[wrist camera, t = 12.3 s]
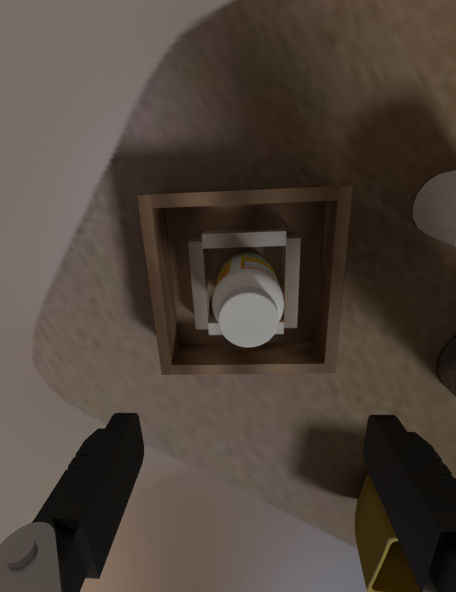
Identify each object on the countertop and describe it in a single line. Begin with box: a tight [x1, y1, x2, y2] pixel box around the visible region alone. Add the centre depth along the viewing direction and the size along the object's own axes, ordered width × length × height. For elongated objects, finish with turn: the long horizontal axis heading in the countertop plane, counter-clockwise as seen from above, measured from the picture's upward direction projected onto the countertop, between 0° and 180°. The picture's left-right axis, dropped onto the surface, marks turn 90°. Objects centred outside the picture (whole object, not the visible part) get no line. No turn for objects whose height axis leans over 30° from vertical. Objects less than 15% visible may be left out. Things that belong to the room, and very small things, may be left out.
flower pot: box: [355, 474, 421, 592], centre depth 34 cm, size 9×9×9 cm
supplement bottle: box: [212, 252, 284, 347], centre depth 23 cm, size 5×5×10 cm
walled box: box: [137, 185, 353, 375], centre depth 27 cm, size 16×16×5 cm
